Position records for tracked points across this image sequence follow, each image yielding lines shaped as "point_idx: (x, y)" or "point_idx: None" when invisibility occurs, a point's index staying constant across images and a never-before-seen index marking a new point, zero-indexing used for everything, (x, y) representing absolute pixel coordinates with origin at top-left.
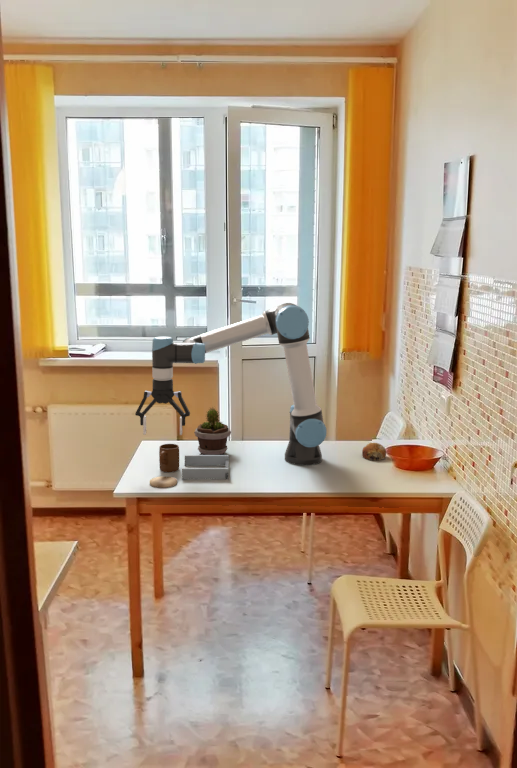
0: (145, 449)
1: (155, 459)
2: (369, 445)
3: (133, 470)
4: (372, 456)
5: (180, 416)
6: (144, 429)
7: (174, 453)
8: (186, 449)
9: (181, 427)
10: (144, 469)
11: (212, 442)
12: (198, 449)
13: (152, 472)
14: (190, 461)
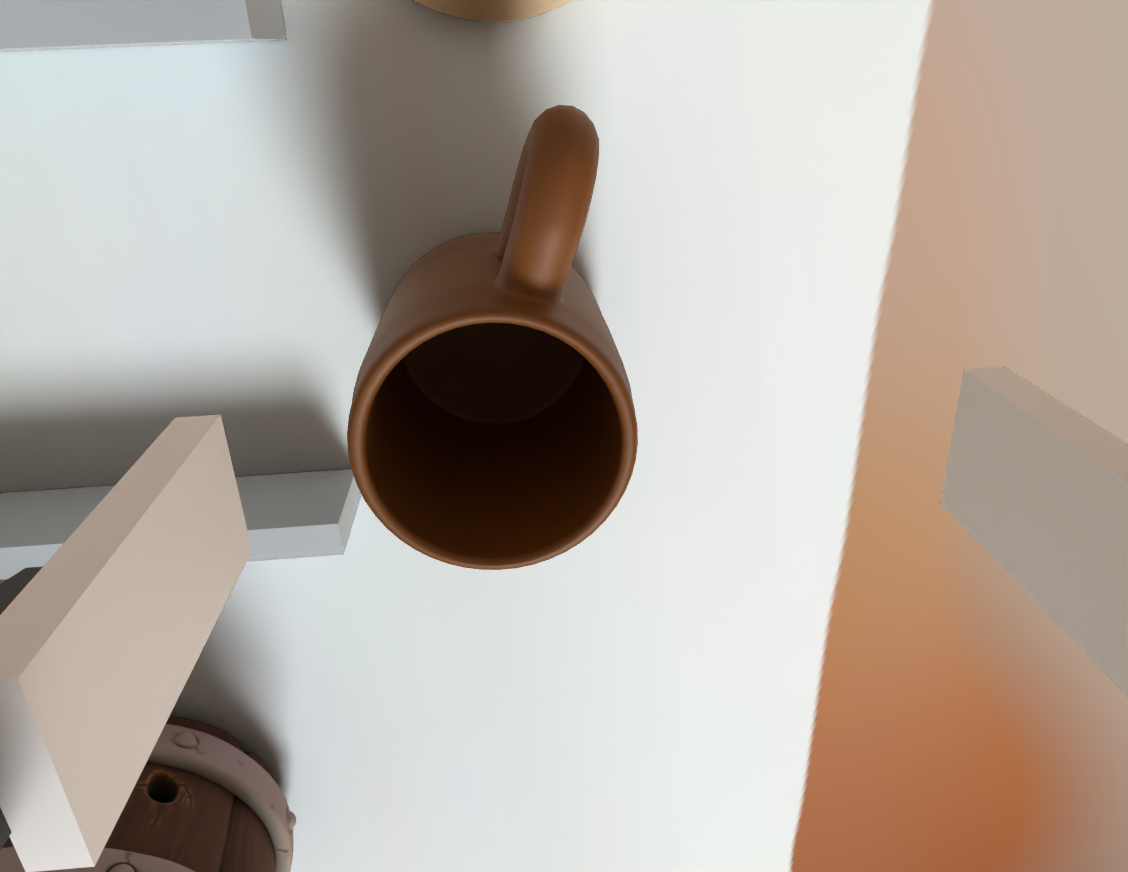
0: (785, 830)
1: (676, 615)
2: None
3: (874, 290)
4: None
5: (84, 856)
6: (1046, 412)
7: (397, 315)
8: (434, 864)
9: (110, 503)
10: (761, 328)
11: None
12: (288, 811)
13: (668, 236)
14: (284, 495)
